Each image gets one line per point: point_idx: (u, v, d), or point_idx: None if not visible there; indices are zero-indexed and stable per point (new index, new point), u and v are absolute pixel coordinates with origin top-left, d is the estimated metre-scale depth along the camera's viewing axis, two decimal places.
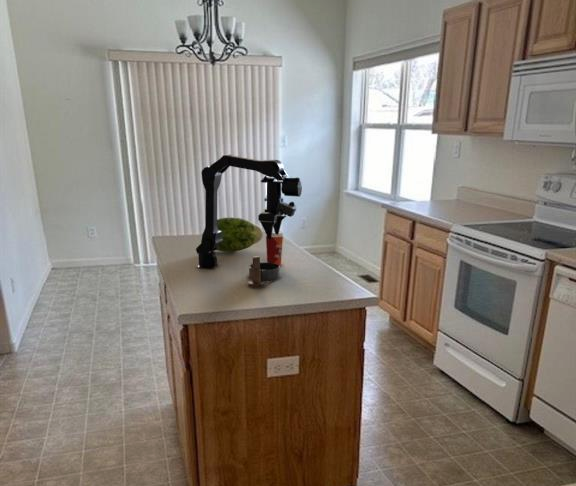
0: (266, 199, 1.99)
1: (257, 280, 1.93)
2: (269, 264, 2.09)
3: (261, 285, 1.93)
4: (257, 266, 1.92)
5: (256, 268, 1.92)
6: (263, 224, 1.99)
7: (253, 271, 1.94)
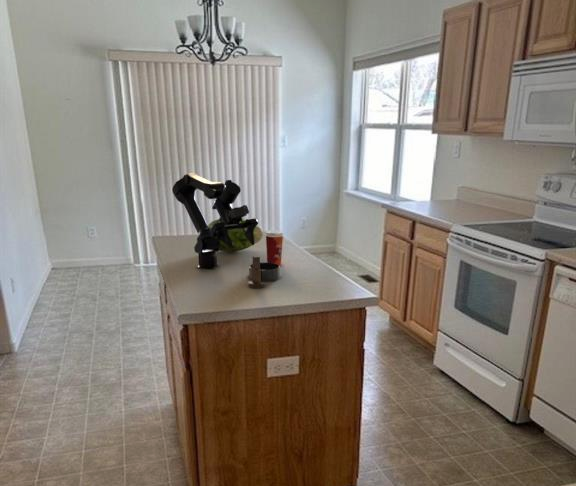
0: (220, 218, 1.99)
1: (257, 280, 1.93)
2: (269, 264, 2.09)
3: (261, 285, 1.93)
4: (257, 266, 1.92)
5: (256, 268, 1.92)
6: (220, 238, 1.94)
7: (253, 271, 1.94)
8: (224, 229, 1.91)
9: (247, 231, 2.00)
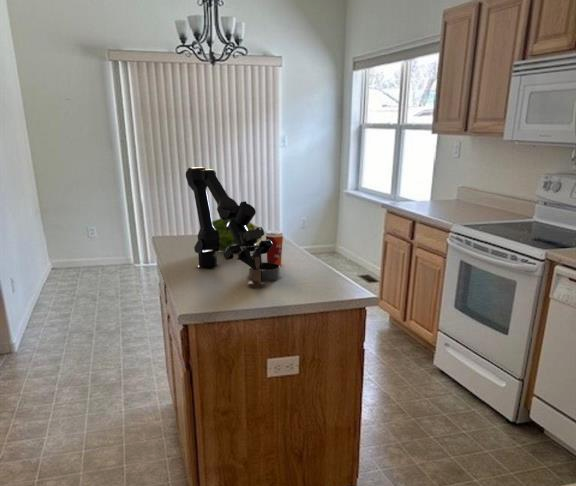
0: (234, 240, 1.95)
1: (257, 280, 1.93)
2: (269, 264, 2.09)
3: (261, 285, 1.93)
4: (257, 266, 1.92)
5: None
6: (242, 260, 1.92)
7: (253, 271, 1.94)
8: (247, 251, 1.89)
9: (254, 254, 1.94)
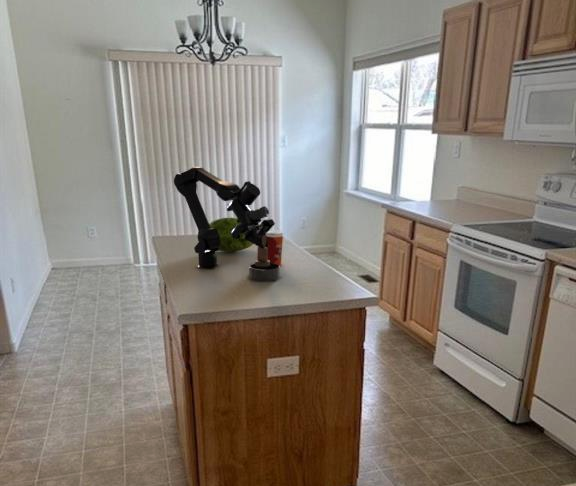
0: (238, 220, 1.98)
1: (264, 258, 1.97)
2: None
3: (268, 263, 1.98)
4: (264, 244, 1.96)
5: None
6: (249, 239, 1.96)
7: (259, 250, 1.98)
8: (254, 230, 1.93)
9: (259, 233, 1.98)
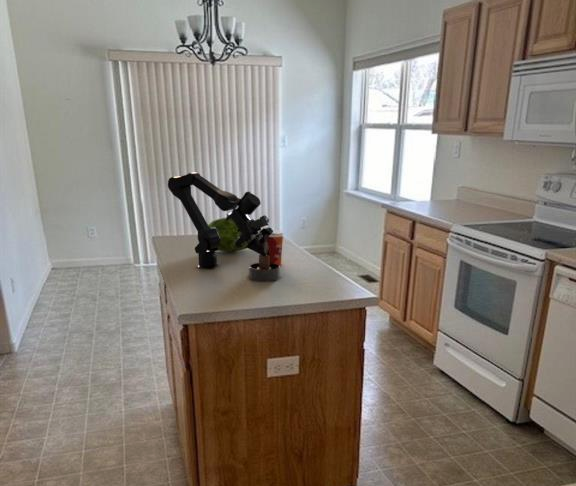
0: (238, 229, 2.02)
1: (266, 266, 2.03)
2: (269, 264, 2.09)
3: None
4: (266, 252, 2.02)
5: None
6: (251, 247, 2.01)
7: (260, 257, 2.03)
8: (256, 238, 1.98)
9: (259, 242, 2.04)
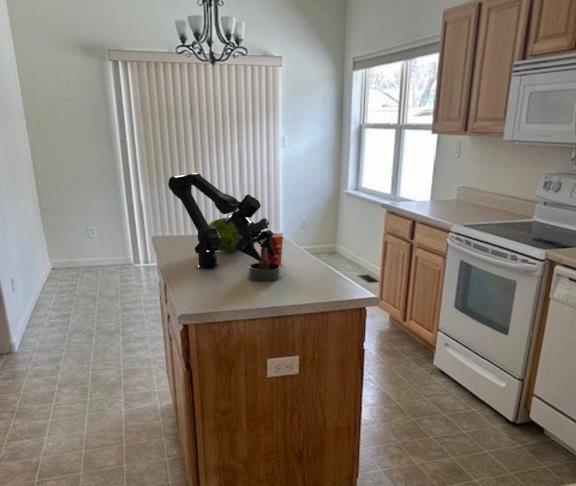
0: (238, 232, 2.03)
1: None
2: (269, 264, 2.09)
3: None
4: (266, 257, 2.03)
5: (265, 259, 2.02)
6: (246, 252, 1.99)
7: (260, 262, 2.04)
8: (251, 243, 1.96)
9: (264, 243, 2.07)
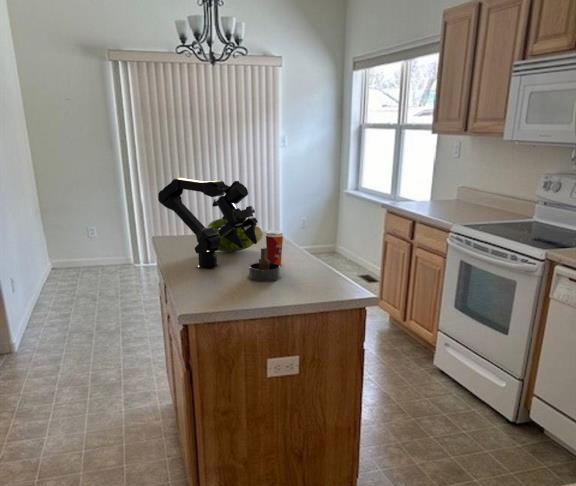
0: (223, 217, 2.04)
1: None
2: (269, 264, 2.09)
3: None
4: (266, 257, 2.03)
5: (265, 259, 2.02)
6: (228, 238, 2.01)
7: (260, 262, 2.04)
8: (235, 230, 1.98)
9: (248, 230, 2.09)
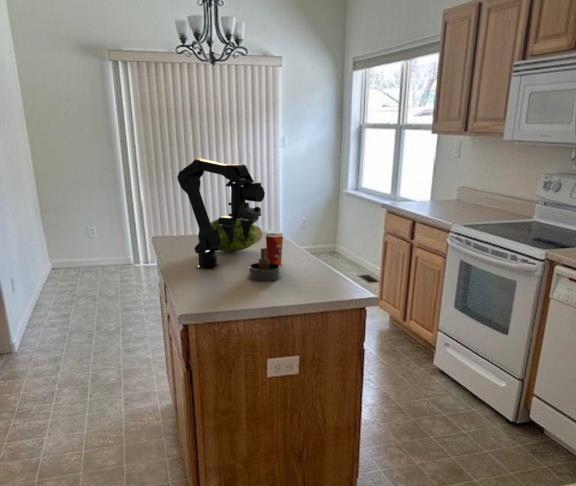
0: (230, 203, 1.99)
1: None
2: (269, 264, 2.09)
3: None
4: (266, 257, 2.03)
5: (265, 259, 2.02)
6: (224, 228, 1.99)
7: (260, 262, 2.04)
8: (234, 227, 1.97)
9: (245, 223, 2.07)
